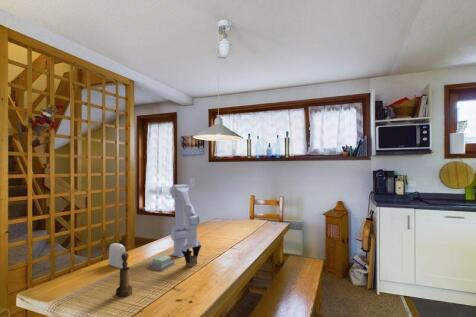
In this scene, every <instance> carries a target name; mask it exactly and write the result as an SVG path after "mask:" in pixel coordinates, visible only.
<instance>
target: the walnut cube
mask: <svg viewBox="0 0 476 317" xmlns="http://www.w3.org/2000/svg"><path fill="white" fill-rule="evenodd" d="M196 264H197V265H198V257H197V256H193V254H191V256H190V263H186V262H185V266H186V267H189V268H194V267H195V266H197V265H196Z"/></svg>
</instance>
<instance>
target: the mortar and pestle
mask: <svg viewBox="0 0 476 317" xmlns="http://www.w3.org/2000/svg"><path fill="white" fill-rule="evenodd" d="M121 258H122V260H123V263H122V266H123V268H119V286H118V287H116V290H115V296H116V297H117V298H126V297H129V296H131V295H132V294H133V286H132V285H131V284H130V268H131V267H129V266H128V259H129V253H128V252H125V253H123V254H122V256H121Z"/></svg>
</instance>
